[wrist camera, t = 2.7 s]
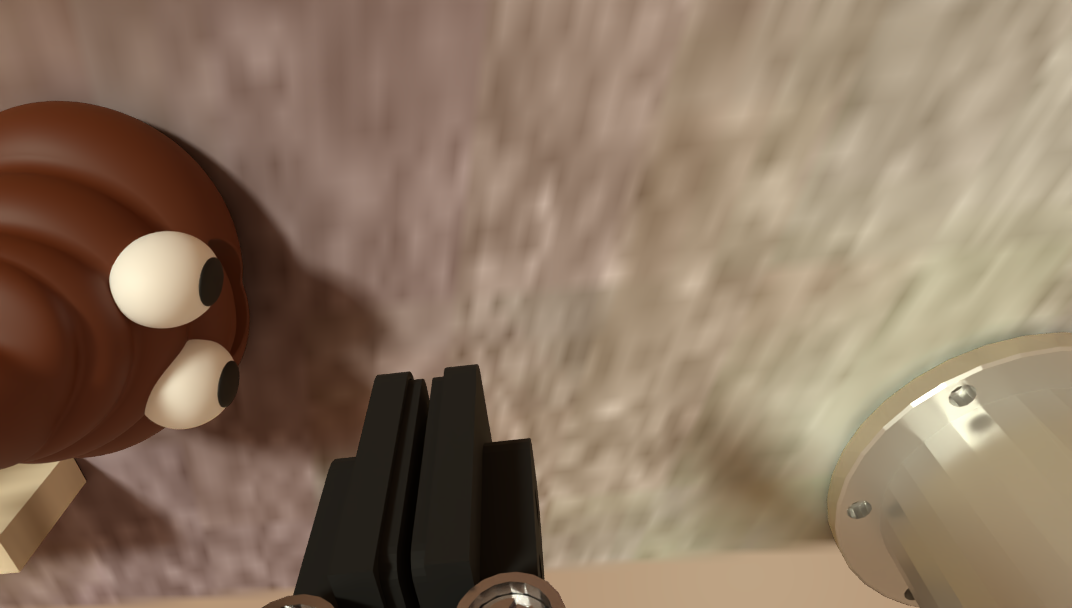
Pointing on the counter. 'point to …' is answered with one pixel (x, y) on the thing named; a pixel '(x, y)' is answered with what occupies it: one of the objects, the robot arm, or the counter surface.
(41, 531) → the seating channel
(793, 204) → the counter surface
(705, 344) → the counter surface
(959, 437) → the robot arm
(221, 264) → the poop emoji
